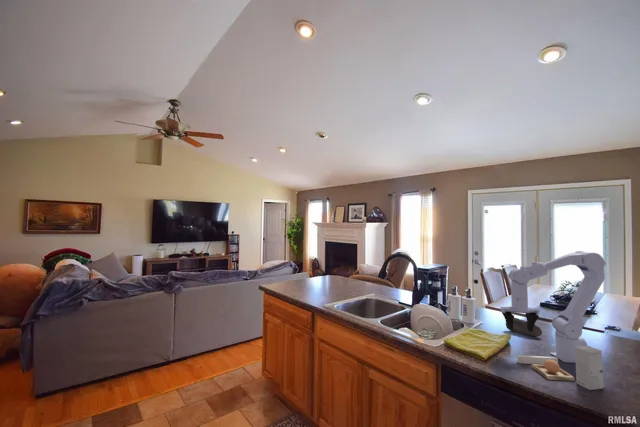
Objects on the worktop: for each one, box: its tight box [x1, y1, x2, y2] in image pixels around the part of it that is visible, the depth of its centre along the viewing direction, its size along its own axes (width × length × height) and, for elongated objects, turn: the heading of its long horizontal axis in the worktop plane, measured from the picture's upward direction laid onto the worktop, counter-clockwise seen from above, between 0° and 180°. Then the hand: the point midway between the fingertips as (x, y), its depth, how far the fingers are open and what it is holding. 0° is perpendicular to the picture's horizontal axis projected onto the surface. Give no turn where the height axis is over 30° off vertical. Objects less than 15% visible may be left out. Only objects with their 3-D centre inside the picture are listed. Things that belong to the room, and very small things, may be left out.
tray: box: [531, 364, 576, 382], centre depth 103 cm, size 9×9×1 cm
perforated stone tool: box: [505, 317, 543, 337], centre depth 142 cm, size 15×5×7 cm, turn 36°
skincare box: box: [575, 345, 604, 391], centre depth 95 cm, size 6×4×12 cm
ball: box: [543, 360, 561, 373], centre depth 103 cm, size 4×4×4 cm
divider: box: [516, 354, 559, 365], centre depth 111 cm, size 14×1×2 cm, turn 84°
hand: (520, 330), depth 120 cm, fingers open, 7 cm apart
